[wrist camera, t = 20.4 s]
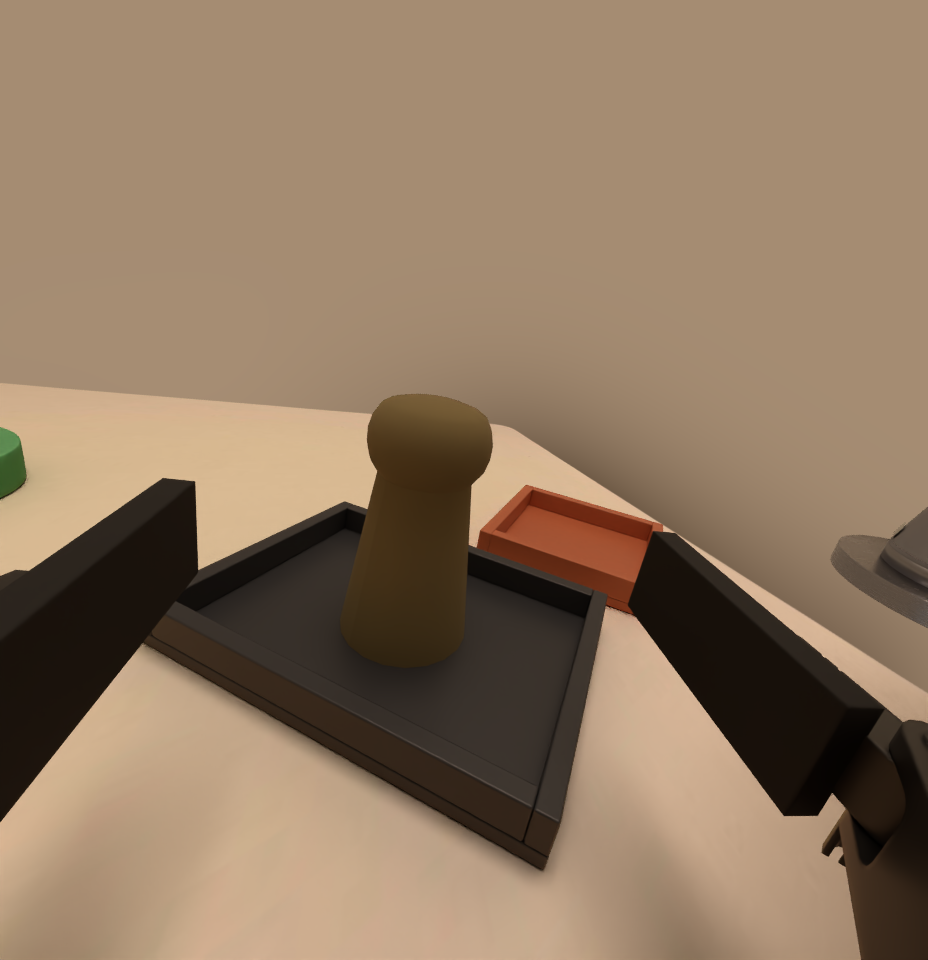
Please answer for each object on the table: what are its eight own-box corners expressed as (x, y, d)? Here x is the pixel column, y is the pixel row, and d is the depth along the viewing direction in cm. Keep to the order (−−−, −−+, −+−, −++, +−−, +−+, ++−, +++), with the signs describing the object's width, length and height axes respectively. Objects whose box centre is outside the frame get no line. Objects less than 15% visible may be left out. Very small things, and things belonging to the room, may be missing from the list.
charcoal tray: (598, 625, 25) (608, 593, 25) (543, 871, 13) (560, 824, 13) (342, 528, 31) (344, 500, 30) (139, 640, 19) (135, 598, 18)
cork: (436, 580, 26) (469, 389, 22) (486, 652, 21) (539, 422, 17) (328, 593, 23) (345, 377, 19) (356, 681, 18) (386, 413, 14)
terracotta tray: (654, 547, 37) (663, 524, 36) (653, 622, 27) (664, 592, 26) (521, 505, 41) (526, 484, 40) (474, 557, 30) (479, 530, 30)
